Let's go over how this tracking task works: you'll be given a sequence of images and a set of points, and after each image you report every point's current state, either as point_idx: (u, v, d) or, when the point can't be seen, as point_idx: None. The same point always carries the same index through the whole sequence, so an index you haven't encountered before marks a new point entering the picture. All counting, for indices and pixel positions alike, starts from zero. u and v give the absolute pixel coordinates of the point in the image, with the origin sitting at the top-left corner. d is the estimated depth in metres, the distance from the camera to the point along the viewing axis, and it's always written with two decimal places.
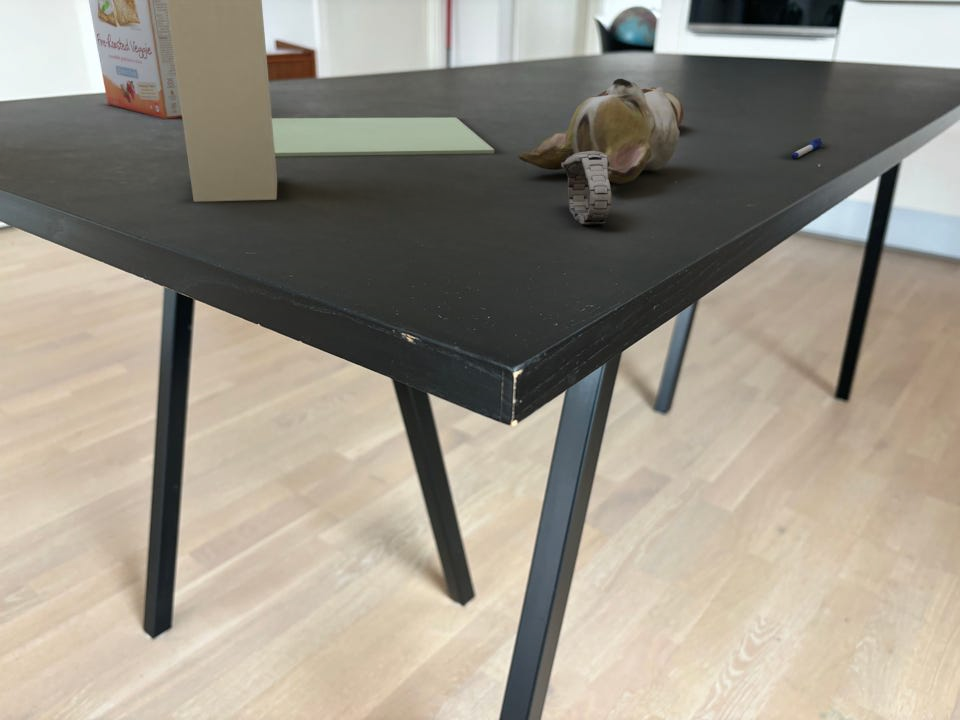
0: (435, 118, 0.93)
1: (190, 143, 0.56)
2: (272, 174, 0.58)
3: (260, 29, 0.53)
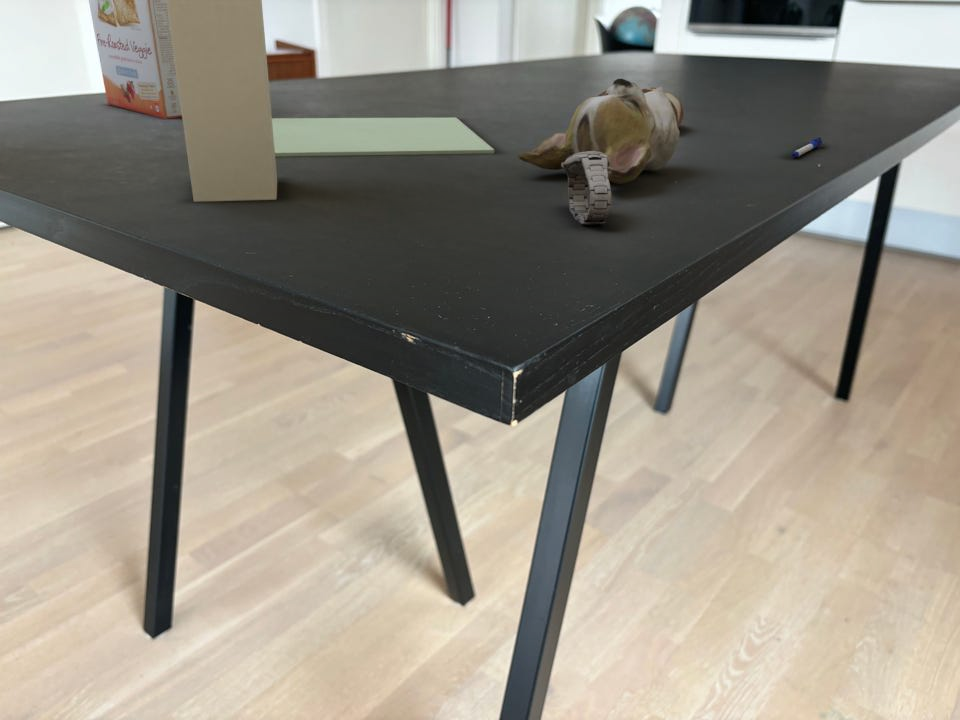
0: (435, 118, 0.93)
1: (190, 143, 0.56)
2: (272, 174, 0.58)
3: (260, 29, 0.53)
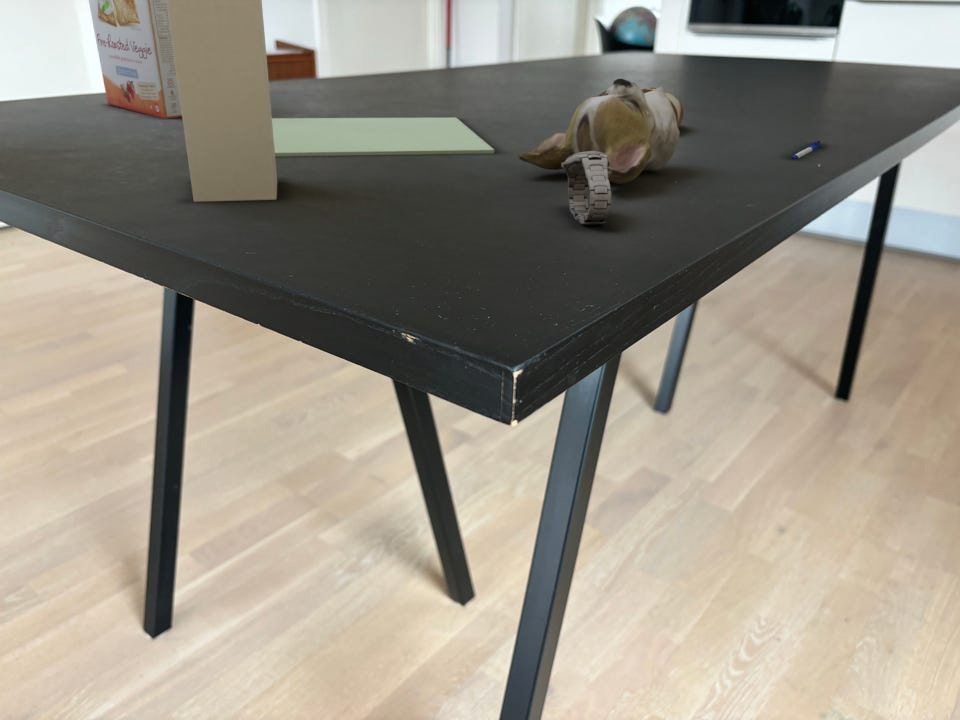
0: (435, 118, 0.93)
1: (190, 143, 0.56)
2: (272, 174, 0.58)
3: (260, 29, 0.53)
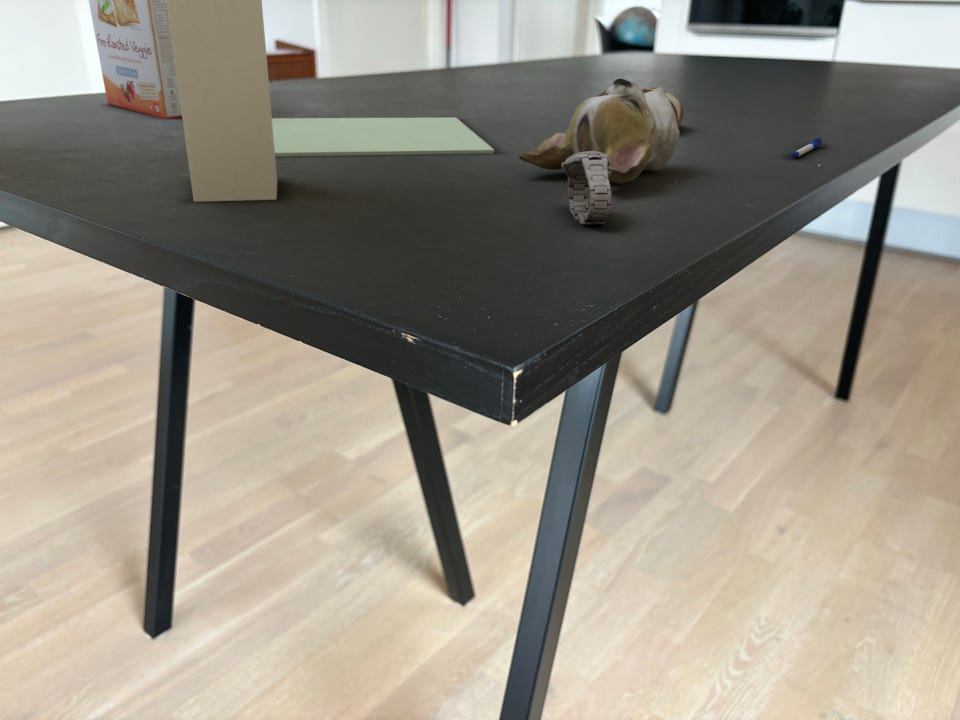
0: (435, 118, 0.93)
1: (190, 143, 0.56)
2: (272, 174, 0.58)
3: (260, 29, 0.53)
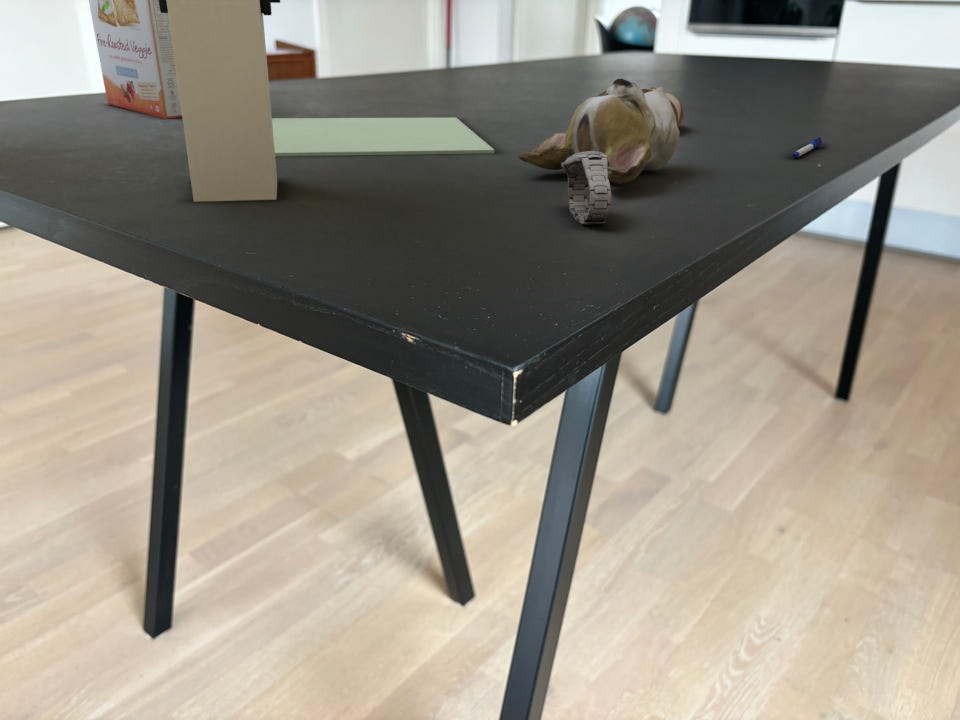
0: (435, 118, 0.93)
1: (190, 143, 0.56)
2: (272, 174, 0.58)
3: (260, 29, 0.53)
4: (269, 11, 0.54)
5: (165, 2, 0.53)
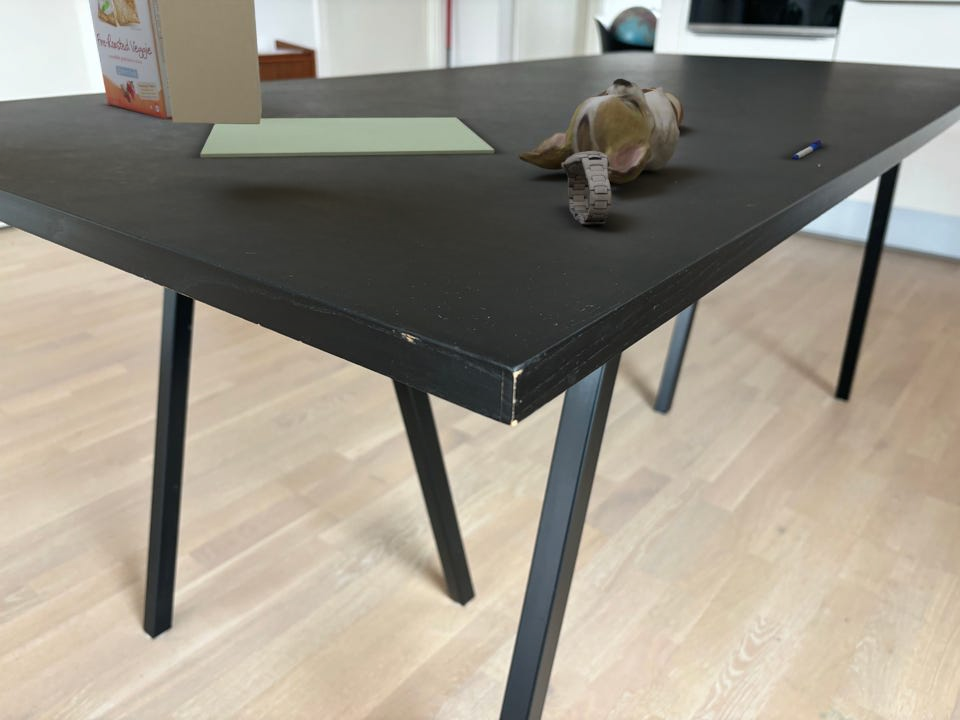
0: (435, 118, 0.93)
1: (169, 57, 0.53)
2: (255, 95, 0.55)
3: None
4: None
5: None
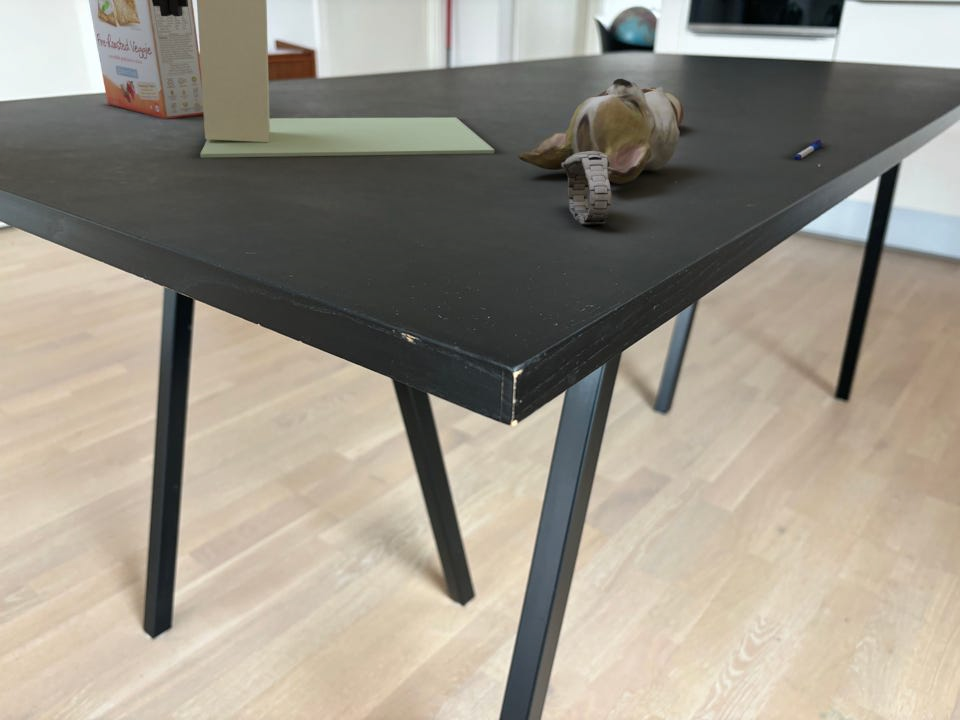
0: (435, 118, 0.93)
1: (205, 92, 0.73)
2: (266, 121, 0.76)
3: (264, 9, 0.71)
4: (177, 13, 0.71)
5: (164, 8, 0.71)
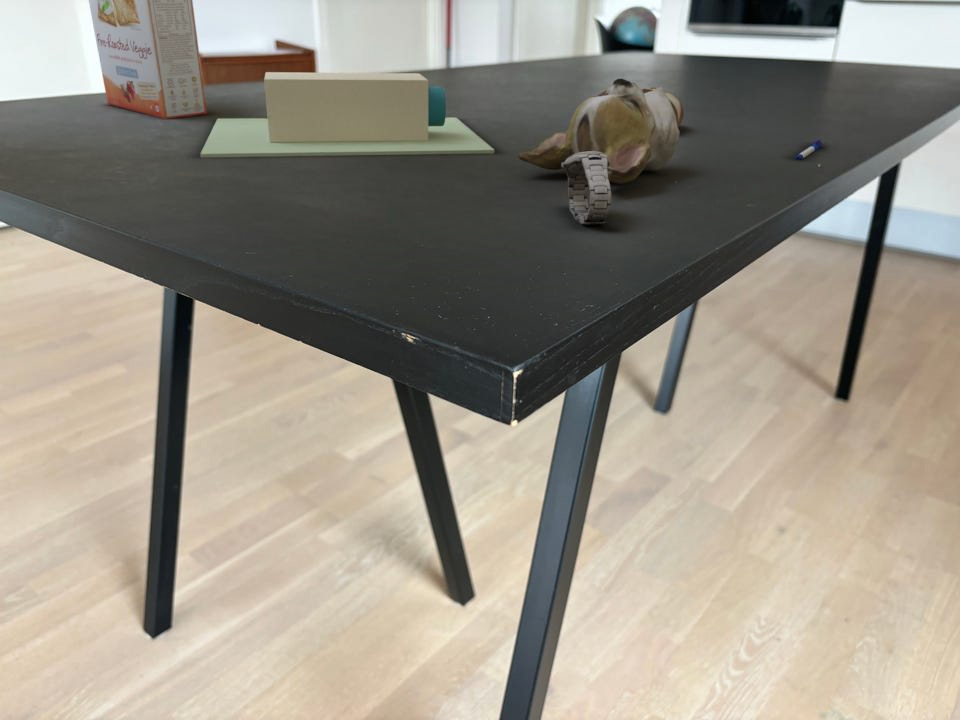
0: None
1: (311, 82, 0.75)
2: (290, 141, 0.77)
3: (390, 140, 0.79)
4: None
5: None
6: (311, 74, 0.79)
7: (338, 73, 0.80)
